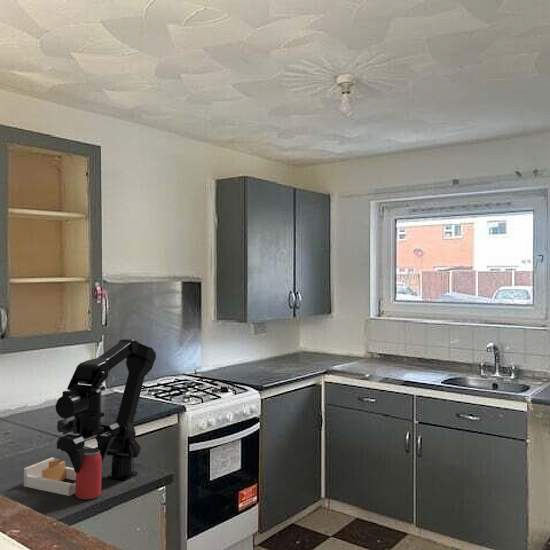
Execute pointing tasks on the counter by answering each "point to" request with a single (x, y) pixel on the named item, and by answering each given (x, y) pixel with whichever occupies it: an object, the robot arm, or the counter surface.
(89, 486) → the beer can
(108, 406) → the counter surface
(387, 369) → the counter surface
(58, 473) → the pusher
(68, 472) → the white tray
